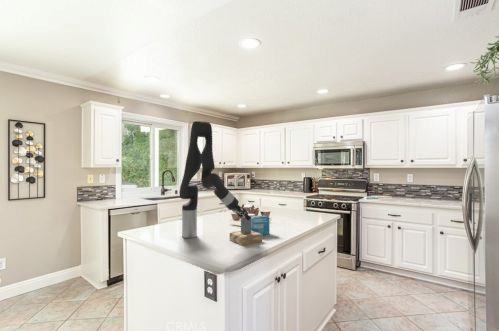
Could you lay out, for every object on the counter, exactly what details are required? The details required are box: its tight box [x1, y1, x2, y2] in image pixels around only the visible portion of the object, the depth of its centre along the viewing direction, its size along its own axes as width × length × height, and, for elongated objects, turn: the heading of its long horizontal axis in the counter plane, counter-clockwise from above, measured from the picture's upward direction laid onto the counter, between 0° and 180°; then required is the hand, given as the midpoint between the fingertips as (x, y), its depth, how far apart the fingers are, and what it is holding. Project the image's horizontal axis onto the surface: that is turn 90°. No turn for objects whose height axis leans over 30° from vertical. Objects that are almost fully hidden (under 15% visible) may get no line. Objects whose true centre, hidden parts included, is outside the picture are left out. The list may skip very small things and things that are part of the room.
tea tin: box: [240, 216, 251, 235], centre depth 161 cm, size 4×4×10 cm
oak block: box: [229, 230, 263, 247], centre depth 160 cm, size 14×14×5 cm
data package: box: [250, 215, 270, 236], centre depth 176 cm, size 12×4×12 cm, turn 108°
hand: (245, 217), depth 161 cm, fingers open, 8 cm apart
